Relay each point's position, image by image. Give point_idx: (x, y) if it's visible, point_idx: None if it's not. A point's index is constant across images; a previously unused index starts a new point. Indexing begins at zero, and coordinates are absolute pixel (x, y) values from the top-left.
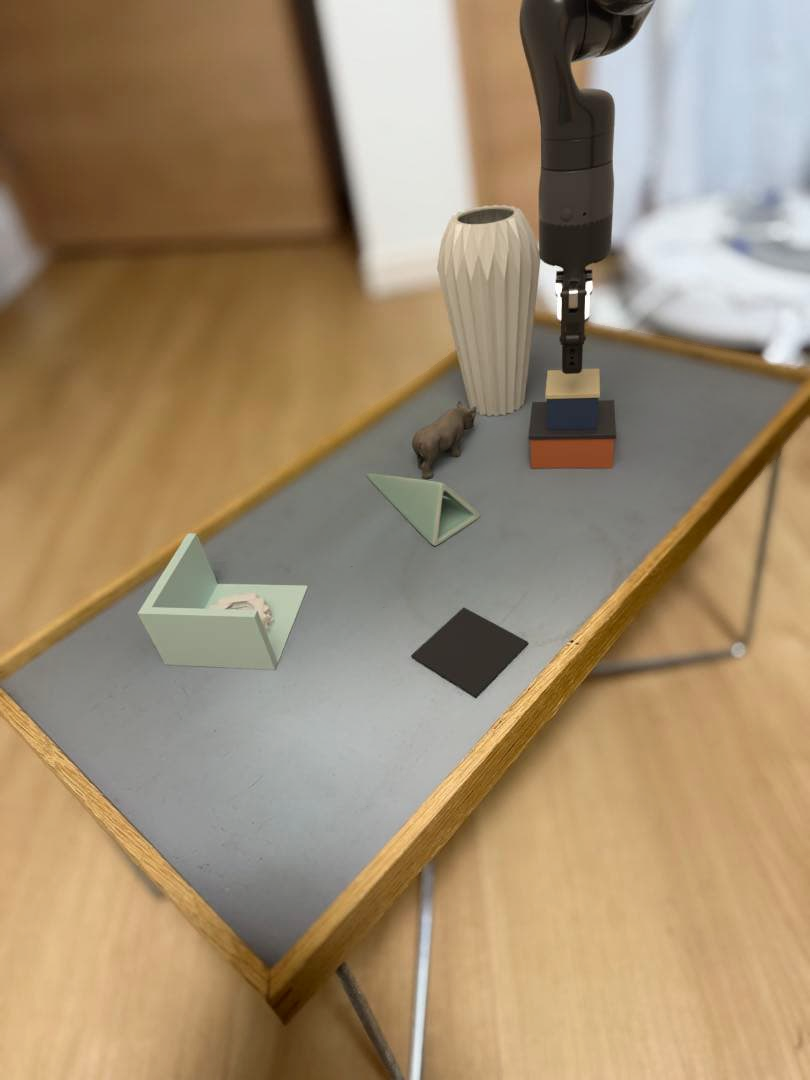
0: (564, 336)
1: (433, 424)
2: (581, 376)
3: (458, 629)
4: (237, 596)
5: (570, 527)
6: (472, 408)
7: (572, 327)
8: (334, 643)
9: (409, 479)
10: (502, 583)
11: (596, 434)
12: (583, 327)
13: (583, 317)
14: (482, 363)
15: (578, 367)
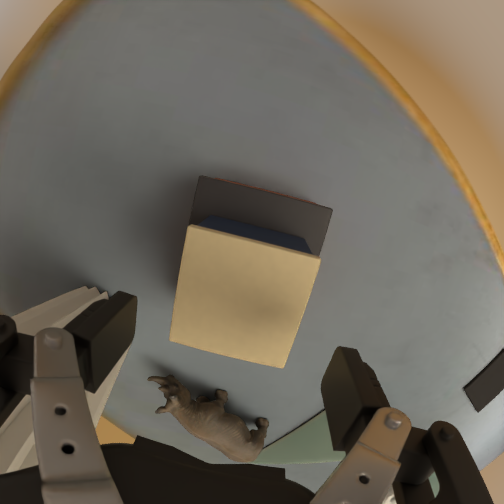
0: (427, 483)
1: (230, 453)
2: (218, 279)
3: (478, 390)
4: (386, 501)
5: (419, 292)
6: (174, 400)
7: (117, 340)
8: None
9: (324, 461)
10: (455, 362)
11: (322, 244)
12: (473, 466)
13: (484, 492)
14: (103, 404)
15: (372, 370)
